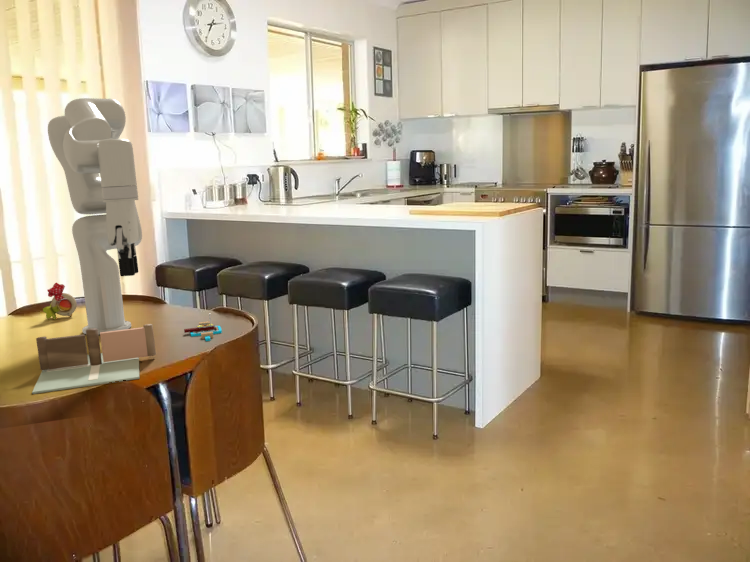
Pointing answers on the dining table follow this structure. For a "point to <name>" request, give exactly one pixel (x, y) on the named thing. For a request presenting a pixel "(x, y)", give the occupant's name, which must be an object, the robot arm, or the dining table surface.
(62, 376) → the card
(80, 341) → the fence fixed
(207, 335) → the gear mechanism
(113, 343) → the pink rectangular panel
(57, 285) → the bird rattle
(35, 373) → the dining table surface
